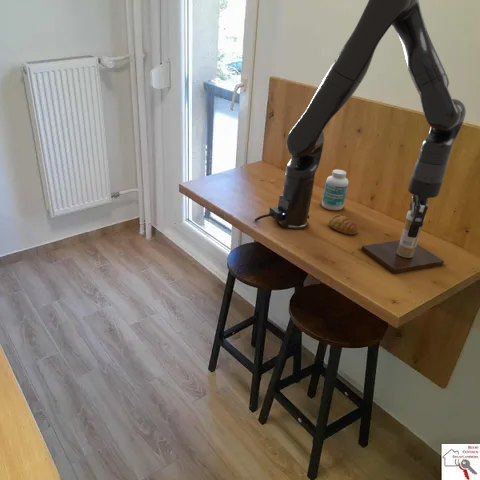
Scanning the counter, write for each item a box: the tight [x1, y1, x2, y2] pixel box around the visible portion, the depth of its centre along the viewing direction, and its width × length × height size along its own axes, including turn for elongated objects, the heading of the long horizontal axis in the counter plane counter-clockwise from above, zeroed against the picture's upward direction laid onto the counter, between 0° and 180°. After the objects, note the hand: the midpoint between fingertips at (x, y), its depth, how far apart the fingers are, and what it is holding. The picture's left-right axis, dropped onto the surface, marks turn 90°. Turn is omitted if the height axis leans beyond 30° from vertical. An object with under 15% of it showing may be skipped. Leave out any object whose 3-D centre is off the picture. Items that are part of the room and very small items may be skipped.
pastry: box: [328, 214, 359, 235], centre depth 154 cm, size 9×7×4 cm
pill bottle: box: [321, 169, 350, 211], centre depth 168 cm, size 8×7×14 cm
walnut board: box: [360, 239, 445, 275], centre depth 139 cm, size 17×14×2 cm
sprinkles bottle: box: [397, 210, 426, 258], centre depth 134 cm, size 5×5×14 cm
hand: (411, 230), depth 134 cm, fingers open, 8 cm apart
